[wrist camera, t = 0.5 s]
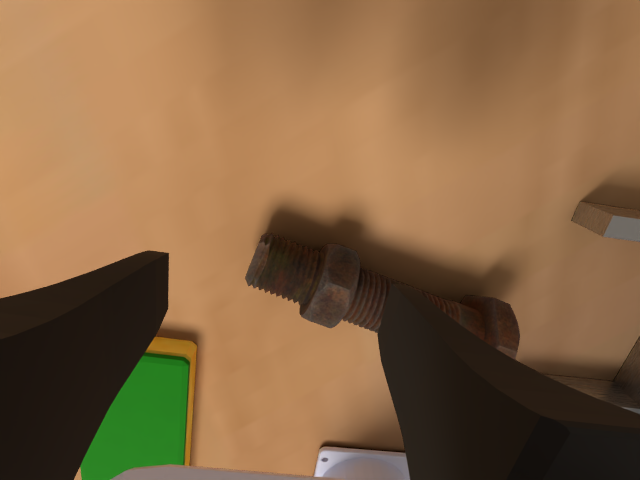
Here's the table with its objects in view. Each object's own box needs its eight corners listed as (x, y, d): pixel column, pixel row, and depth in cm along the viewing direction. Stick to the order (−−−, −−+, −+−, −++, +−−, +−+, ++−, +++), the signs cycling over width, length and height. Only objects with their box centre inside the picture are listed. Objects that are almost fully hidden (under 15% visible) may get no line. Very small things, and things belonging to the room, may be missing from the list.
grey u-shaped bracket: (620, 395, 27) (658, 432, 24) (499, 382, 26) (523, 420, 23) (727, 223, 22) (792, 244, 19) (579, 201, 21) (624, 219, 18)
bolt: (267, 222, 23) (470, 301, 25) (237, 297, 22) (450, 372, 24) (273, 204, 17) (535, 308, 19) (233, 305, 17) (511, 402, 19)
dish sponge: (99, 465, 29) (82, 497, 27) (89, 324, 24) (66, 348, 22) (190, 473, 30) (180, 505, 27) (199, 337, 24) (188, 362, 22)
